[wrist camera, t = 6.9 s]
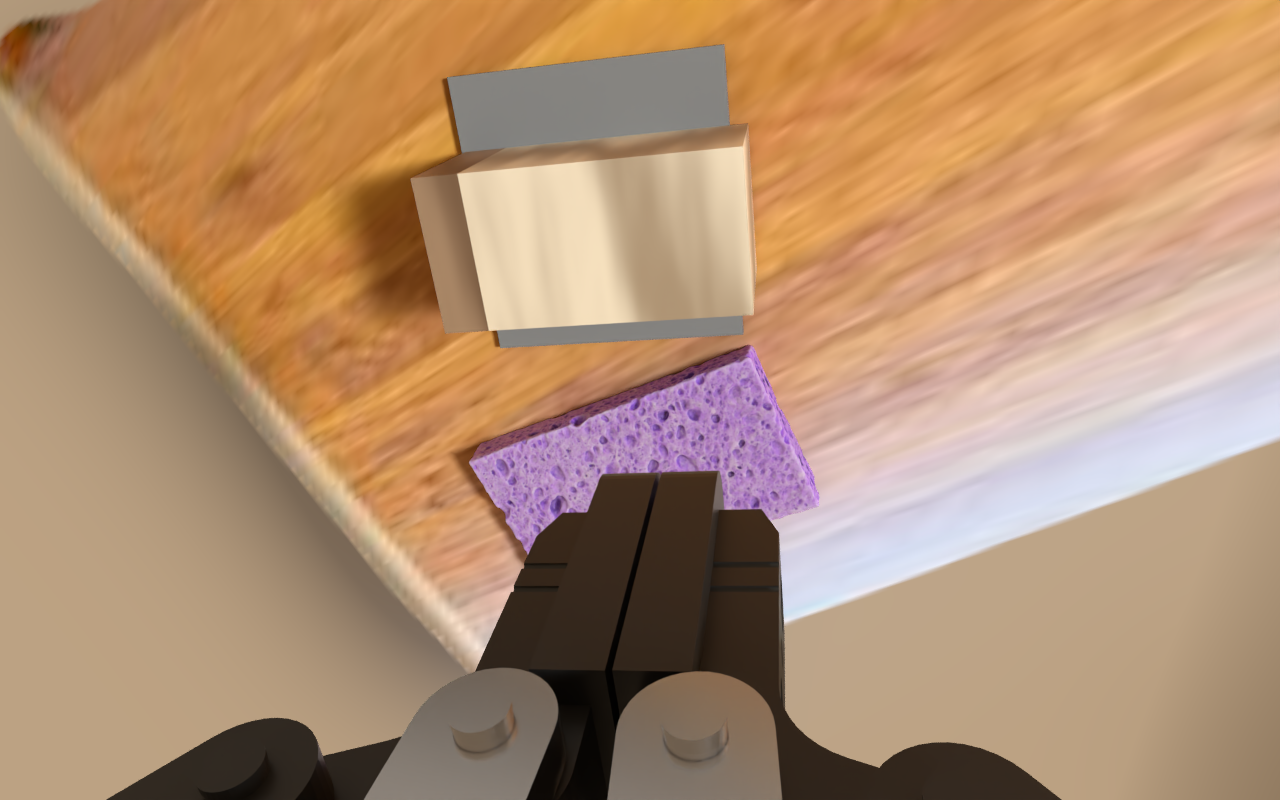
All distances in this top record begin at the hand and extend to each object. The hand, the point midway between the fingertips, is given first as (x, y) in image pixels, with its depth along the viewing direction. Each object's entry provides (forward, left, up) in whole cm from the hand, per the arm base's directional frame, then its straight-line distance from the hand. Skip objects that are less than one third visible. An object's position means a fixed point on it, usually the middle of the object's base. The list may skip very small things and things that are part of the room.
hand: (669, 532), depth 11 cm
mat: (+5, 0, -21) cm, 21 cm away
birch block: (-1, 0, -18) cm, 18 cm away
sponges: (+4, +11, -21) cm, 24 cm away
